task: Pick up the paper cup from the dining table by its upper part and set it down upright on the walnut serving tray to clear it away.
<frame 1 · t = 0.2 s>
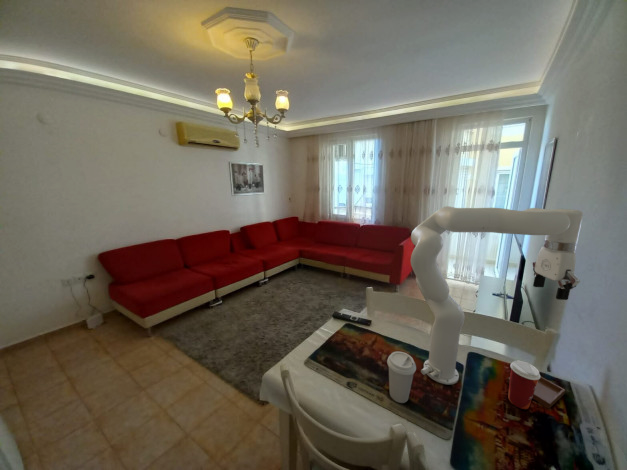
hand: (549, 292, 83), 37 cm above the table, tool pointing down, fingers open, 9 cm apart
tray: (534, 388, 88), on the table
paper cup: (518, 402, 83), on the table
coffee cup: (398, 395, 86), on the table
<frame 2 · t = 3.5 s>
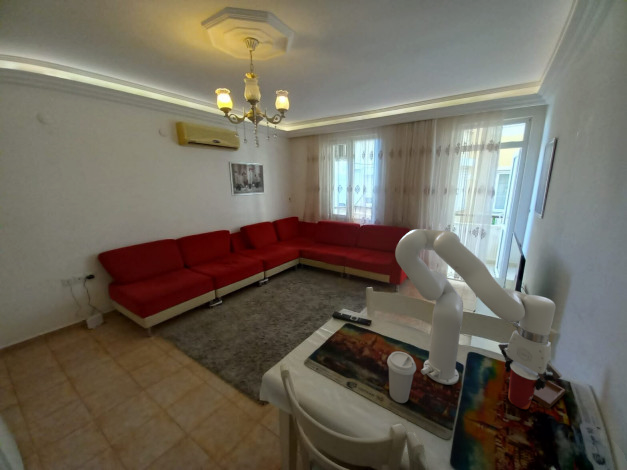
hand: (523, 378, 81), 9 cm above the table, tool pointing down, fingers closed on paper cup, 7 cm apart
paper cup: (518, 402, 83), on the table, touching gripper
everything else where it was.
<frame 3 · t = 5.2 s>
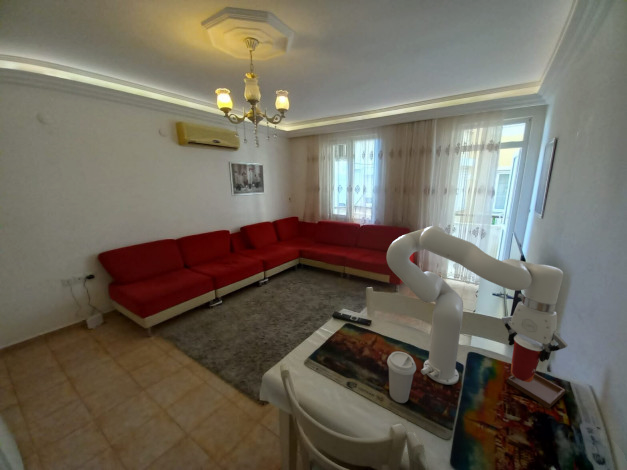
hand: (526, 351, 79), 20 cm above the table, tool pointing down, fingers closed on paper cup, 7 cm apart
paper cup: (520, 375, 81), point 10 cm above the table, touching gripper
everything else where it was.
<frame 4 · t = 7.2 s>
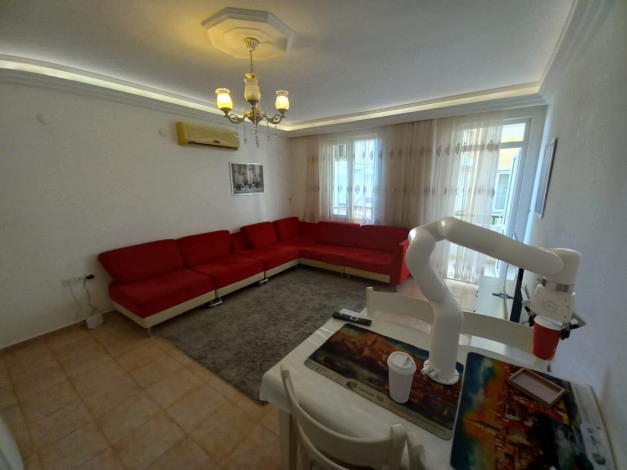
hand: (547, 331, 83), 24 cm above the table, tool pointing down, fingers closed on paper cup, 7 cm apart
paper cup: (541, 355, 85), point 14 cm above the table, touching gripper
everything else where it was.
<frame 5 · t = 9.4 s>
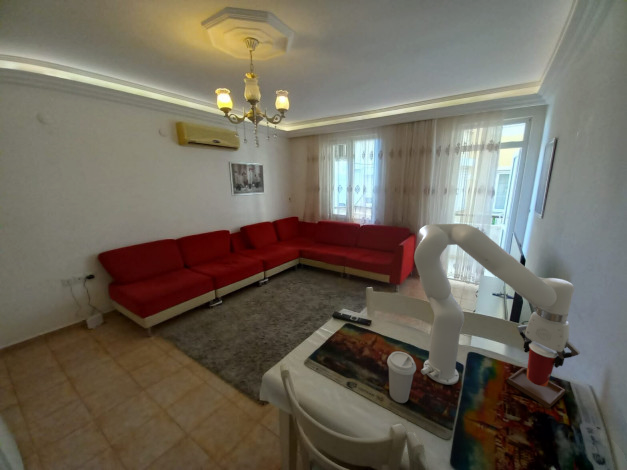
hand: (541, 358, 85), 13 cm above the table, tool pointing down, fingers closed on paper cup, 7 cm apart
paper cup: (536, 380, 87), point 3 cm above the table, touching gripper
everything else where it was.
when the fingers open (10 cm above the table, at t = 10.9 s): paper cup stays where it is, resting on tray.
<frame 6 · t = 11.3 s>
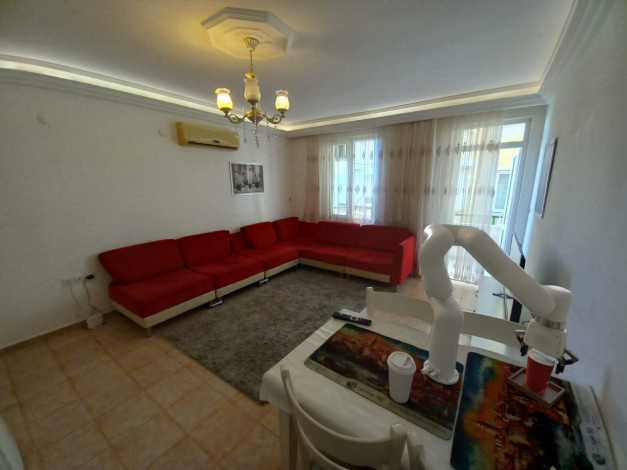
hand: (540, 363, 86), 11 cm above the table, tool pointing down, fingers open, 9 cm apart
paper cup: (534, 387, 88), resting on tray
everything else where it was.
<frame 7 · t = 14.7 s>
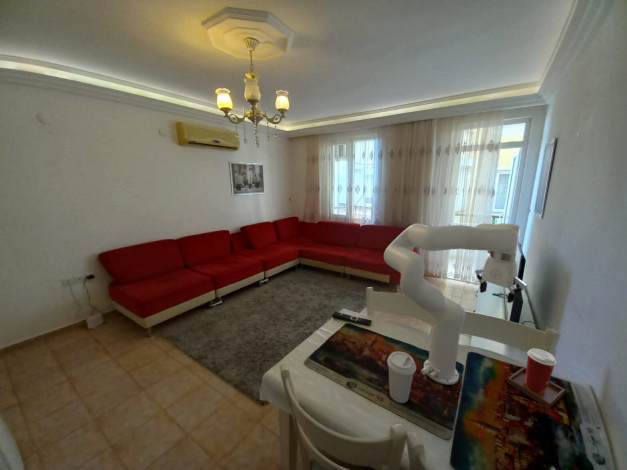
hand: (495, 296, 95), 30 cm above the table, tool pointing down, fingers open, 9 cm apart
nothing on the table moved.
at the end: paper cup 0.1 cm off-centre in the tray, point 0.3 cm above the tray's base; paper cup tilted 0°; the gripper is holding nothing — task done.
